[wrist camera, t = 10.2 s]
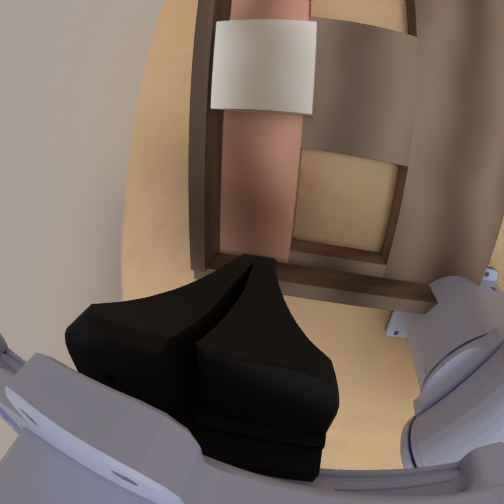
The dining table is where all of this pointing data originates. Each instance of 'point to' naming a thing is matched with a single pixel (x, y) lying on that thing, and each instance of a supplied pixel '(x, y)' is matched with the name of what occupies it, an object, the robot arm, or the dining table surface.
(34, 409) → the robot arm
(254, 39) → the block
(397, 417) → the dining table surface
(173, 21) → the dining table surface
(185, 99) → the dining table surface
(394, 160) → the frame
